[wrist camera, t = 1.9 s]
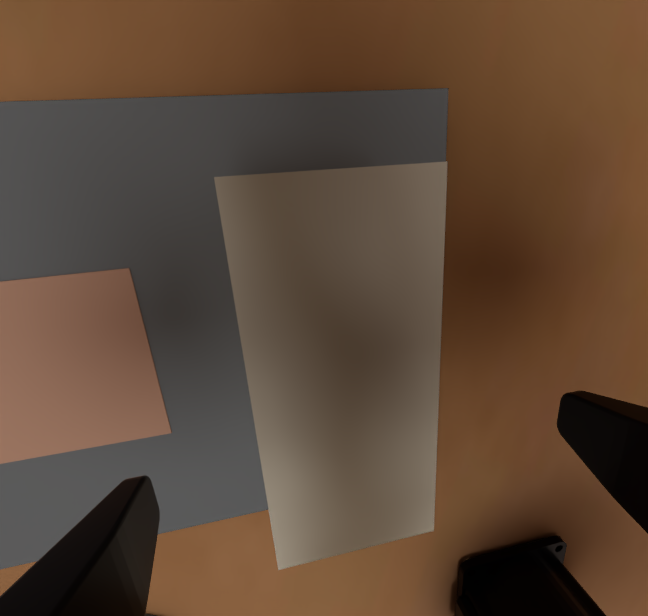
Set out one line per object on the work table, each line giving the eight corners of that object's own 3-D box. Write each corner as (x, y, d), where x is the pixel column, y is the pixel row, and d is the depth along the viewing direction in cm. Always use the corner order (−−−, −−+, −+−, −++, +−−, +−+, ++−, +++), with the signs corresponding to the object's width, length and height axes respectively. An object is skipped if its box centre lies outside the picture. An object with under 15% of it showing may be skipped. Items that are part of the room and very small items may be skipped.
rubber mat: (443, 90, 12) (449, 87, 11) (431, 467, 17) (435, 473, 16) (-532, 121, 8) (-567, 117, 8) (-163, 598, 13) (-175, 609, 13)
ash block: (378, 174, 12) (447, 161, 8) (383, 439, 15) (433, 530, 11) (228, 184, 11) (214, 177, 7) (270, 462, 14) (278, 570, 10)
